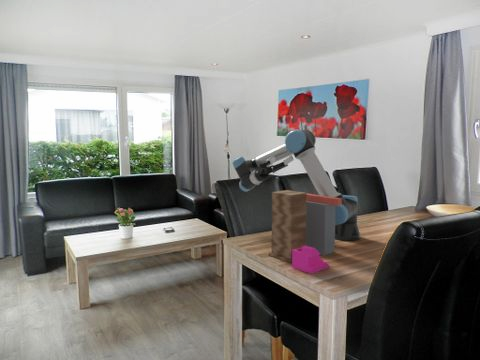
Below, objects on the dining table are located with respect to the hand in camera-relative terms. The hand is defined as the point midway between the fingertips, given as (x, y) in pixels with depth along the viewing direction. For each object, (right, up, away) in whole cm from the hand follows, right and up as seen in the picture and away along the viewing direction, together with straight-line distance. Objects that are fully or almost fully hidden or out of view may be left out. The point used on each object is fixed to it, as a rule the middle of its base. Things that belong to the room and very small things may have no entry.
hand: (283, 158), depth 205 cm
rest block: (+15, -46, -16) cm, 51 cm away
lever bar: (+14, -22, -17) cm, 31 cm away
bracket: (+7, -49, -38) cm, 62 cm away
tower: (0, -47, -23) cm, 52 cm away
